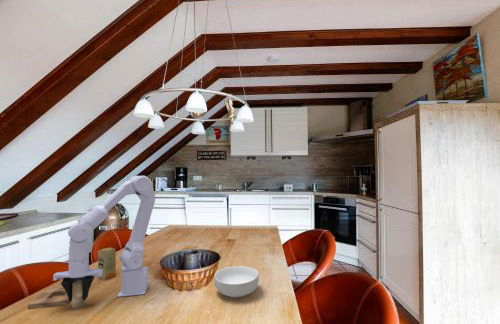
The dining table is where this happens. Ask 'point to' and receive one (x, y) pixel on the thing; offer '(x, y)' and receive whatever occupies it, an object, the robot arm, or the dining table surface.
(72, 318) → the dining table surface
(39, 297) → the socket block
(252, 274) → the cereal bowl
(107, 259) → the shoe polish box
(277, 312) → the dining table surface
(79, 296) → the peg
